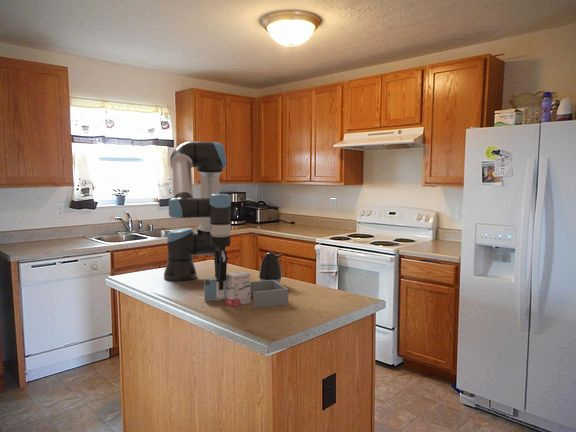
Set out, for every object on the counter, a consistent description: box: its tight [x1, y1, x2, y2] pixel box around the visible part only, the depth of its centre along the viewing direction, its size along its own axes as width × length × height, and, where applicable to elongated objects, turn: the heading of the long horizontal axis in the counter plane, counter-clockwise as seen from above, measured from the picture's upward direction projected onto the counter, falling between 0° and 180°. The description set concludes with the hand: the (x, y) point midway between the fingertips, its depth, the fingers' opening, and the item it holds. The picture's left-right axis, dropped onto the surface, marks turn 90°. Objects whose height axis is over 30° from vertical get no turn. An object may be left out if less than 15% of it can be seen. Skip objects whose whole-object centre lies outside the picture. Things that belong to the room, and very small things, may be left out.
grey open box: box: [250, 280, 289, 309], centre depth 164 cm, size 16×15×9 cm
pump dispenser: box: [258, 251, 283, 283], centre depth 188 cm, size 10×10×15 cm
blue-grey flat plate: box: [203, 278, 226, 301], centre depth 166 cm, size 13×1×8 cm, turn 112°
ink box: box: [225, 270, 252, 308], centre depth 160 cm, size 9×5×12 cm, turn 130°
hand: (220, 297), depth 158 cm, fingers closed
